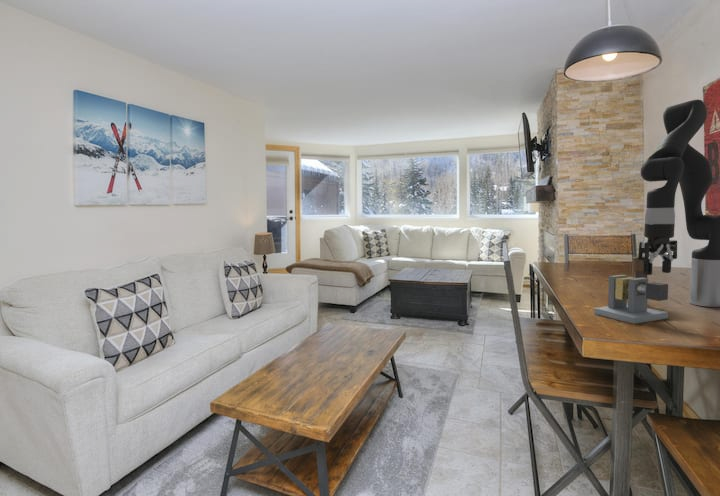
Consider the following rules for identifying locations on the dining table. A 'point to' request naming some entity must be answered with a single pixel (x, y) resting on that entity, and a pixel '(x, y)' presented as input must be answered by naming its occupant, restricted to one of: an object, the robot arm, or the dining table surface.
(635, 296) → the bracket
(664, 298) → the shaft
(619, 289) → the spacer
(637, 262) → the wooden block
